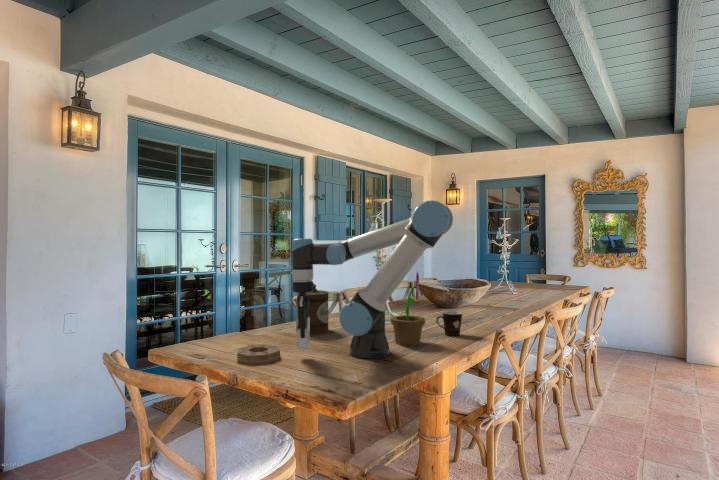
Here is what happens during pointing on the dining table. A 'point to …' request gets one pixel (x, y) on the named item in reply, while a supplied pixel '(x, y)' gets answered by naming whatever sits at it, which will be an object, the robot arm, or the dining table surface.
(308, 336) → the light grey rectangular block
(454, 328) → the coffee mug
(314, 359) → the dining table surface
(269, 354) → the brown wooden ring
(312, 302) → the wooden container
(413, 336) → the flowerpot
